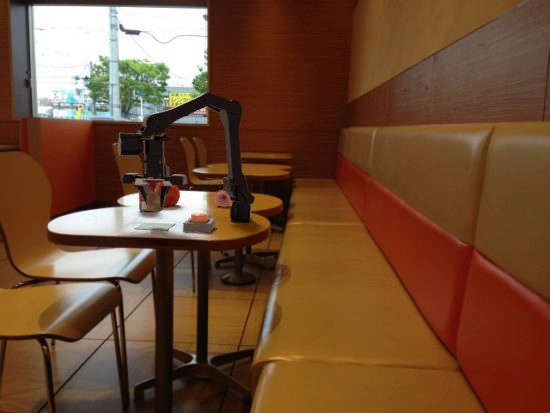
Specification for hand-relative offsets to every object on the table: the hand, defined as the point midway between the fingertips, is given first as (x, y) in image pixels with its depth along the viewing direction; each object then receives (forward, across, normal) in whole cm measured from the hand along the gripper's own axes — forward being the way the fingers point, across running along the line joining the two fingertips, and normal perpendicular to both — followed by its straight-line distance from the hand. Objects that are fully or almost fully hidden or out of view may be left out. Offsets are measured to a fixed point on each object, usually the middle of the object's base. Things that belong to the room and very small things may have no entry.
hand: (155, 207), depth 139 cm
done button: (+5, -14, +1) cm, 15 cm away
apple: (+6, +8, -40) cm, 41 cm away
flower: (+6, -14, -43) cm, 46 cm away
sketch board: (+6, 0, 0) cm, 6 cm away
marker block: (+1, 0, 0) cm, 1 cm away
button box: (+6, -14, +1) cm, 15 cm away
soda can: (+6, +11, -27) cm, 30 cm away
